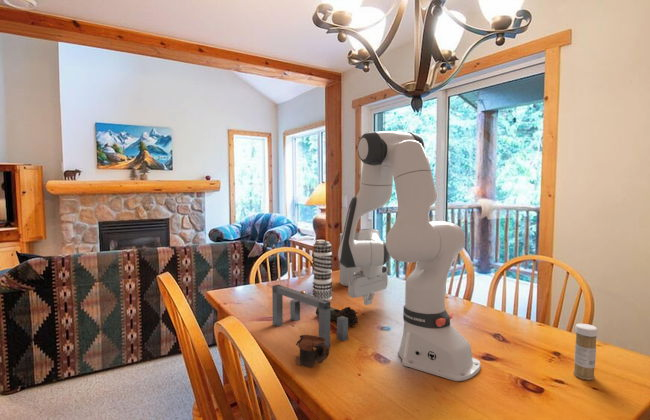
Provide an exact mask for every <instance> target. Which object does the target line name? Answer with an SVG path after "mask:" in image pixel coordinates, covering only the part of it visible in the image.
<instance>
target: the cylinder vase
mask: <svg viewBox="0 0 650 420" xmlns="http://www.w3.org/2000/svg"><path fill="white" fill-rule="evenodd" d="M342 236H343V232H342V233H339V244H340V243H341V240H342ZM358 236H359V232H355V237H354V240H358ZM353 273H357V267H353V268H346V267H344V266H343V265H342V264H341V263H340V262H339V284H340V285H342V286H344V287H345V286H346V287H349V280H350V277H351V275H352V274H353Z"/></svg>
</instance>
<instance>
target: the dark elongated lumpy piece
mask: <svg viewBox="0 0 650 420" xmlns="http://www.w3.org/2000/svg"><path fill="white" fill-rule="evenodd" d="M315 314H316V316H317V317H319V308H317V307H316V308H315ZM341 316H344V317H347V318H348V327H349V326H357V324H358V321H359V319H358V316H357V313H356V310H354V309H353V308H351V307H350V306H347V307H346V306H345V307H344V308H342V309H339V308H335V307H331V306H330V320H332V321H336V322H337V318H338V317H341Z"/></svg>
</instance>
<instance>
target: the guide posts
mask: <svg viewBox="0 0 650 420" xmlns="http://www.w3.org/2000/svg"><path fill="white" fill-rule="evenodd" d="M289 301H290V302H289V303H290V305H289V306H290V307H289V308H290V310H289V311H290V313H289V314H290V318H289V319H290V320H291V321H294V322H296V321H298V320H301V302H300V301H298V300H295V299H291V300H289ZM336 340H339V341H340V342H345V341H347V340H349V326H348V318H347V317H344V316H341V317H338V318H337V321H336Z"/></svg>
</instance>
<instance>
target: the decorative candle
mask: <svg viewBox="0 0 650 420" xmlns="http://www.w3.org/2000/svg"><path fill="white" fill-rule="evenodd" d="M312 245H313V253H312V254H311V257H312V259H311V261H312V263H311V265H312V273H313V281H312V288H313V289H312V296H314V297H317V298H320V299H323V300H326V301H330V300H332V299H333V297H332V296H333V290H332V288H333V286H332V284H333V282H332V273H333V271H332V269H333V265H334V264H333V262H332V261H333V260H334V259H333V258H334V255H333V254H332V253H333V252H332V244H331V243H330V241H328V240H317V241H315V243H313V244H312Z"/></svg>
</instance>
